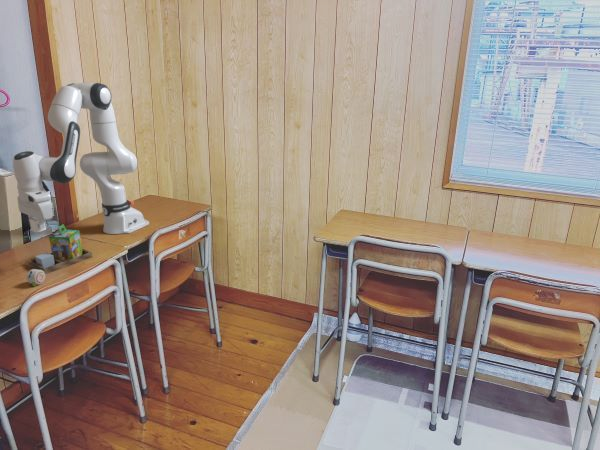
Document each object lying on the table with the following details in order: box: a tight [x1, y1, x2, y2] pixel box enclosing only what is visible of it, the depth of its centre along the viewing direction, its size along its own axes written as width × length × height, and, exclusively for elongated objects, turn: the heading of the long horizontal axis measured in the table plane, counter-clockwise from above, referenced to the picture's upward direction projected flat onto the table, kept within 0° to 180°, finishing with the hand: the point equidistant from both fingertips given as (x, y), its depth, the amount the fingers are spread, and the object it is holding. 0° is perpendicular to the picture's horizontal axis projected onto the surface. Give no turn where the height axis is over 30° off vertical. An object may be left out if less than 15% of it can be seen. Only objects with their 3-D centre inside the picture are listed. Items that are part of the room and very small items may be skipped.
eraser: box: [28, 218, 47, 233], centre depth 200 cm, size 4×4×5 cm
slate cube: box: [34, 252, 55, 268], centre depth 206 cm, size 5×5×5 cm
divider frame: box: [26, 248, 93, 275], centre depth 211 cm, size 21×14×2 cm, turn 144°
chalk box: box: [48, 224, 84, 262], centre depth 211 cm, size 9×9×15 cm
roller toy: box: [26, 268, 46, 287], centre depth 191 cm, size 4×6×6 cm
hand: (38, 226), depth 200 cm, fingers closed on eraser, 4 cm apart
